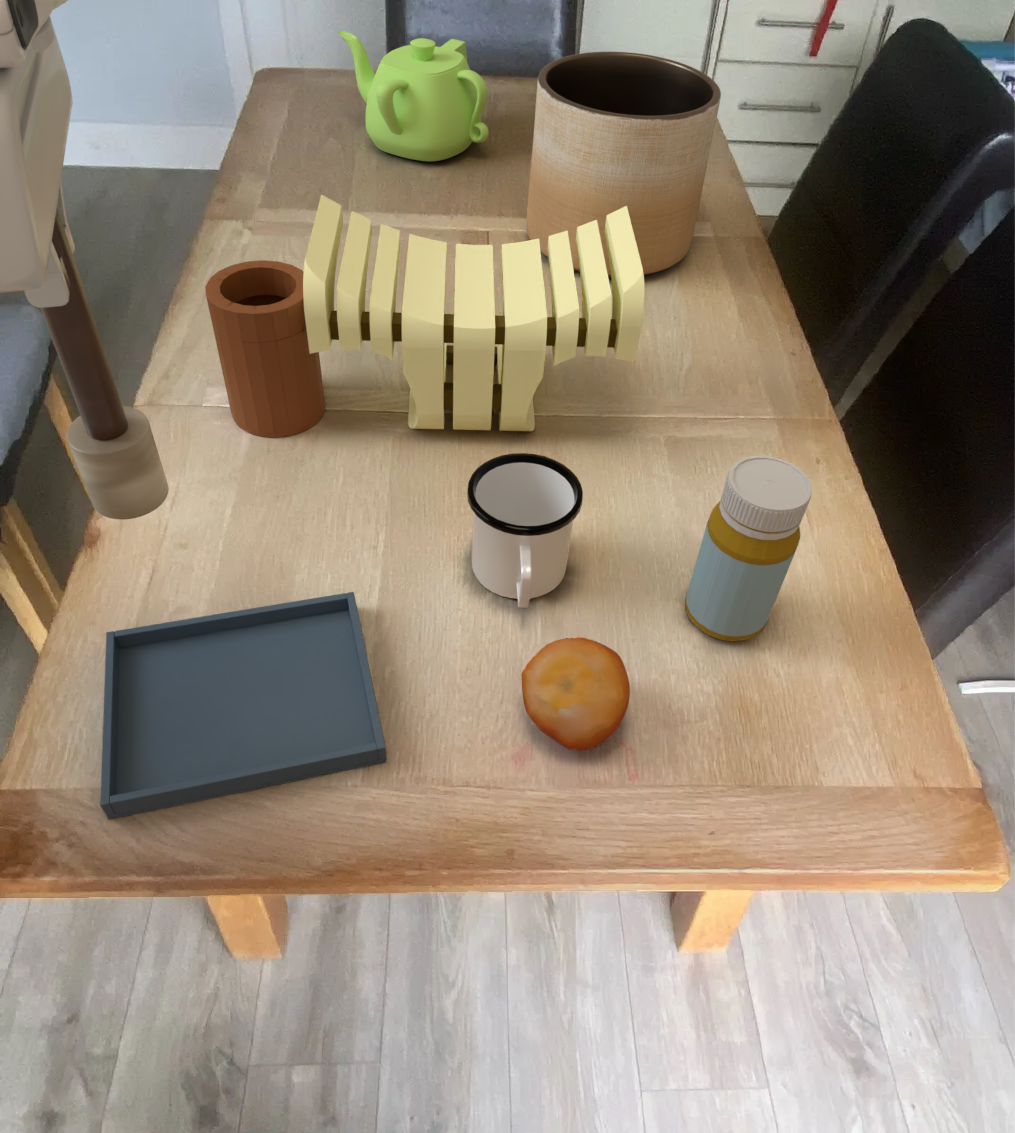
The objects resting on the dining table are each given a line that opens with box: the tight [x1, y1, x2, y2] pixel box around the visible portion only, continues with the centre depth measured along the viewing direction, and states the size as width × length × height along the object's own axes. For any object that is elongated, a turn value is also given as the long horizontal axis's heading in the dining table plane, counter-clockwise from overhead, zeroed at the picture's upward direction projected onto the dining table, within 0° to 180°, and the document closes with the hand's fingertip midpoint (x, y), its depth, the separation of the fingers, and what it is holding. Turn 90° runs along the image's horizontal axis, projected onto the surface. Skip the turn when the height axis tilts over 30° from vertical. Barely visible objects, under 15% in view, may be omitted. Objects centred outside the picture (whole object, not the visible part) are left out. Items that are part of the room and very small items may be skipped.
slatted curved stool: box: [303, 194, 645, 432], centre depth 90 cm, size 30×16×18 cm, turn 92°
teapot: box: [337, 30, 489, 162], centre depth 135 cm, size 19×20×14 cm
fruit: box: [521, 636, 631, 751], centre depth 67 cm, size 8×8×8 cm
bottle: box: [684, 454, 813, 642], centre depth 72 cm, size 7×7×15 cm
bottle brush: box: [40, 207, 170, 520], centre depth 47 cm, size 4×4×19 cm
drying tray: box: [99, 591, 388, 820], centre depth 68 cm, size 19×15×2 cm
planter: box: [526, 51, 722, 278], centre depth 114 cm, size 22×22×20 cm
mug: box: [466, 452, 584, 609], centre depth 76 cm, size 12×10×9 cm
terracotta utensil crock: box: [204, 259, 326, 438], centre depth 88 cm, size 9×9×14 cm
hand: (55, 280), depth 44 cm, fingers closed on bottle brush, 2 cm apart
